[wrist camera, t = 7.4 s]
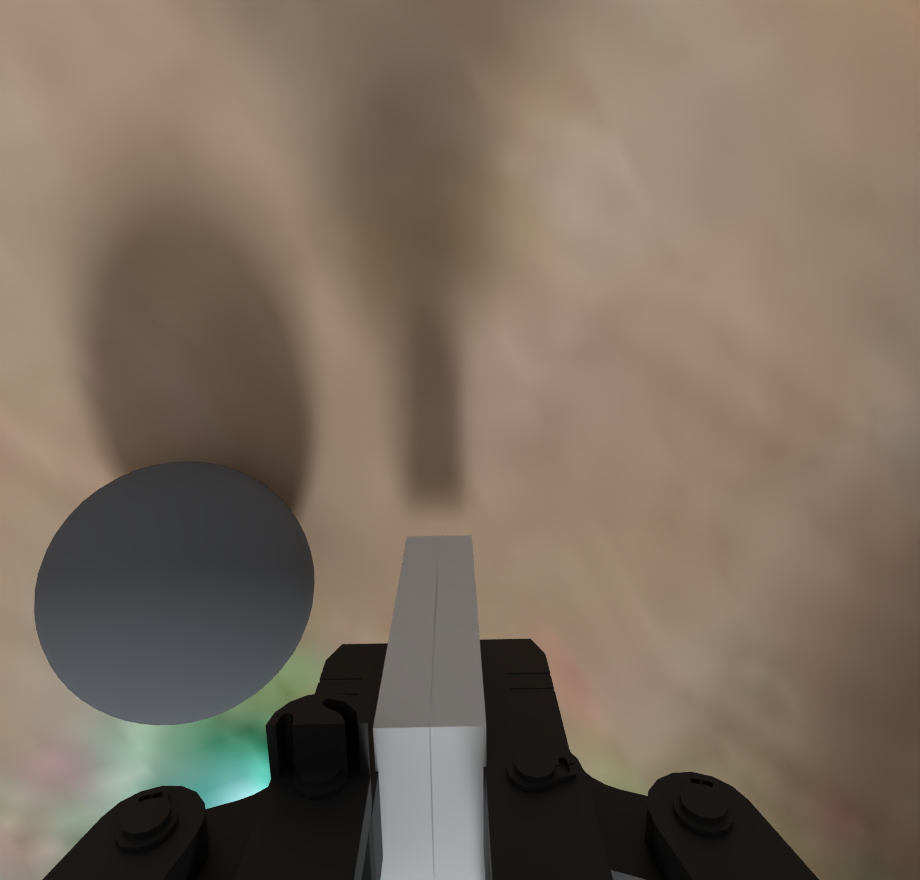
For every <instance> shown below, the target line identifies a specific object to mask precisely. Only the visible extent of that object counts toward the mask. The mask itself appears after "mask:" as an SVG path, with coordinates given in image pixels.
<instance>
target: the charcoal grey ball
mask: <svg viewBox="0 0 920 880" xmlns="http://www.w3.org/2000/svg"><path fill="white" fill-rule="evenodd" d="M313 593H314V567H313V561H312V556H311V551H310V548H309V545H308V542H307V539H306V536H305V534H304V532H303V530H302V528H301V526H300V524H299V522H298V520H297V519H296V517H295V516H294V515H293V513H292V512H291V510H290V509H289V508H288V507H287V506H286V504H285V503H284V502H283V501H282V500H281V499H280V498H279V497H278V496H277V495H276V494H275V493H274V492H272V491H271V490H270V489H269V488H268V487H266V486H265V485H263V484H262V483H260V482H259V481H257V480H255V479H254V478H252V477H250V476H248V475H246V474H244V473H242V472H239V471H237V470H234V469H231V468H228V467H225V466H221V465H215V464H210V463H203V462H171V463H165V464H159V465H153V466H149V467H146V468H142V469H139V470H135V471H133V472H131V473H128V474H126V475H124V476H121V477H119V478H117V479H115V480H114V481H112V482H110V483H109V484H107V485H105V486H104V487H102V488H100V489H99V490H97V491H96V492H94V493H93V494H92V495H91V496H89V497H88V498H87V499H85V500H84V501H83V502H82V503H81V504H80V505H79V506H78V507H77V508H76V509H75V510H74V511H73V512H72V513H71V514H70V515H69V517H68V518H67V519H66V520H65V522H64V523H63V524H62V526H61V527H60V528H59V530H58V531H57V532H56V534H55V535H54V537H53V539H52V541H51V543H50V545H49V547H48V549H47V551H46V553H45V556H44V559H43V561H42V564H41V567H40V570H39V573H38V577H37V582H36V588H35V607H34V614H35V622H36V630H37V633H38V637H39V640H40V644H41V646H42V649H43V651H44V653H45V655H46V657H47V659H48V662H49V664H50V666H51V667H52V669H53V670H54V672H55V673H56V675H57V676H58V678H59V679H60V680H61V681H62V682H63V683H64V684H65V685H66V687H67V688H68V689H69V690H70V691H72V692H73V693H74V694H75V695H76V696H77V697H79V698H80V699H81V700H83V701H84V702H86V703H87V704H89V705H90V706H92V707H94V708H95V709H97V710H99V711H102V712H104V713H106V714H108V715H110V716H113V717H116V718H119V719H122V720H125V721H130V722H135V723H140V724H150V725H176V724H183V723H191V722H195V721H199V720H203V719H207V718H210V717H212V716H215V715H218V714H220V713H223V712H225V711H227V710H229V709H231V708H233V707H235V706H237V705H238V704H240V703H242V702H243V701H245V700H246V699H248V698H249V697H251V696H253V695H254V694H256V693H257V692H258V691H259V690H260V689H262V688H263V687H264V686H265V685H266V684H268V683H269V682H270V680H271V679H272V678H273V677H274V676H275V675H276V674H277V673H278V672H279V671H280V670H281V669H282V667H283V666H284V665H285V663H286V662H287V661H288V659H289V658H290V657H291V655H292V654H293V652H294V650H295V649H296V647H297V645H298V643H299V641H300V640H301V637H302V635H303V632H304V630H305V627H306V625H307V622H308V620H309V616H310V612H311V608H312V602H313Z"/></svg>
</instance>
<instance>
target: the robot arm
mask: <svg viewBox="0 0 920 880" xmlns="http://www.w3.org/2000/svg"><path fill="white" fill-rule="evenodd" d="M266 733H267V743H268V753H269V763H270V773H271V781H270V783H269V786H268V787H267V788H265V789H263V790H262V791H260V792H258V793H256V794H254V795H252V796H249V797H246V798H244V799H241V800H238V801H234V802H231V803H227V804H223V805H220V806H216V807H212V808H209V809H205V803H204V802H203V800H202V799H201V798H200V796H199V795H198V793H197V792H195V791H193V790H190V789H188V788H185V787H183V786H160V787H156V788H152V789H149V790H145V791H141V792H139V793H137V794H135V795H133V796H131V797H129V798H127V799H125V800H123V801H121V802H120V803H118V804H117V805H116V806H115V807H113V808H112V809H111V810H110V811H109V812H107V813H106V814H105V815H104V816H103V817H101V818H100V820H99V821H98V822H97V823H96V824H95V825H94V826H93V827H92V828H91V829H90V830H89V831H88V832H87V833H86V834H85V835H84V836H83V837H82V838H81V840H80V841H79V842H78V843H77V844H76V845H75V846H74V847H73V848H72V849H71V850H70V851H69V852H68V853H67V854H66V855H65V856H64V857H63V859H62V860H61V861H60V862H59V863H58V864H57V865H56V866H55V867H54V868H53V869H52V870H51V871H50V872H49V873H48V874H47V875H46V876H45V877H44V879H43V880H380V878H381V880H819V879H818V878H817V877H816V876H815V875H814V873H813V872H812V871H811V870H810V869H809V868H808V867H807V866H806V864H805V863H804V862H803V861H802V860H801V859H800V858H799V857H798V855H797V854H796V853H795V852H794V851H793V850H792V849H791V847H790V846H789V845H788V844H787V843H786V842H785V841H784V840H783V838H782V837H781V836H780V835H779V834H778V833H777V832H776V831H775V829H774V828H773V827H772V826H771V825H770V824H769V823H768V821H767V820H766V819H765V818H764V817H763V816H762V815H761V814H760V812H759V811H758V810H757V809H756V808H755V807H754V806H753V805H752V803H751V802H750V801H749V800H748V799H747V798H745V797H744V796H743V795H742V794H741V793H740V792H738V791H737V790H736V789H735V788H734V787H732V786H730V785H728V784H726V783H724V782H722V781H720V780H718V779H716V778H714V777H712V776H707V775H703V774H698V773H694V772H682V773H671V774H669V775H667V776H665V777H662V778H660V779H658V780H657V781H656V782H655V783H654V785H653V786H652V787H651V788H650V790H649V791H648V796H645V795H641V794H636V793H632V792H628V791H624V790H620V789H617V788H614V787H611V786H608V785H605V784H603V783H601V782H600V781H598V780H596V779H594V778H592V777H591V776H590V775H588V774H587V773H586V772H585V771H584V770H583V768H582V766H581V764H580V762H579V761H578V759H577V758H576V757H575V756H574V755H573V754H572V753H571V752H570V750H569V746H568V742H567V738H566V734H565V730H564V726H563V722H562V718H561V714H560V710H559V706H558V702H557V699H556V695H555V691H554V687H553V683H552V679H551V676H550V671H549V667H548V663H547V659H546V655H545V653H544V652H543V651H542V650H541V649H540V648H539V647H538V646H537V645H536V644H535V643H534V642H533V641H532V640H531V639H493V640H480V638H479V625H478V612H477V599H476V586H475V573H474V560H473V547H472V535H469V536H413V537H407V539H406V545H405V550H404V556H403V562H402V567H401V573H400V579H399V584H398V590H397V595H396V601H395V607H394V612H393V618H392V624H391V629H390V635H389V641H388V643H387V644H342V645H341V646H340V647H339V648H338V649H337V650H336V651H335V652H334V653H333V654H332V655H331V656H330V657H329V658H328V659H327V660H326V662H325V665H324V668H323V671H322V674H321V677H320V683H318V686H317V689H316V692H315V694H313V695H307V696H304V697H302V698H299V699H296V700H294V701H291V702H289V703H288V704H286V705H285V706H283V707H282V708H281V709H279V710H278V711H276V712H275V713H274V714H273V716H272V717H271V719H270V720H269V721H268V723H267V724H266Z"/></svg>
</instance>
